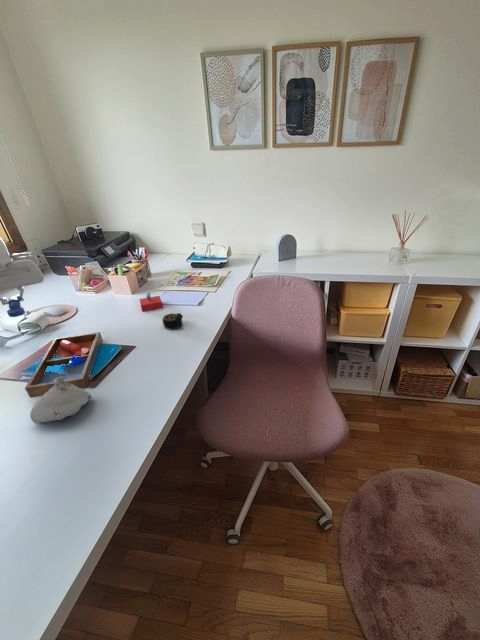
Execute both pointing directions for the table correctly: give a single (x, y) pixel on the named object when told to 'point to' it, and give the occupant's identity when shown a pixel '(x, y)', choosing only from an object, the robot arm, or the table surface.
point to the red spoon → (73, 348)
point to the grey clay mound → (59, 402)
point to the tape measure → (172, 320)
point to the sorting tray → (45, 382)
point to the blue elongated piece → (15, 307)
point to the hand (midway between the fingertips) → (13, 302)
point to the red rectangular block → (150, 303)
